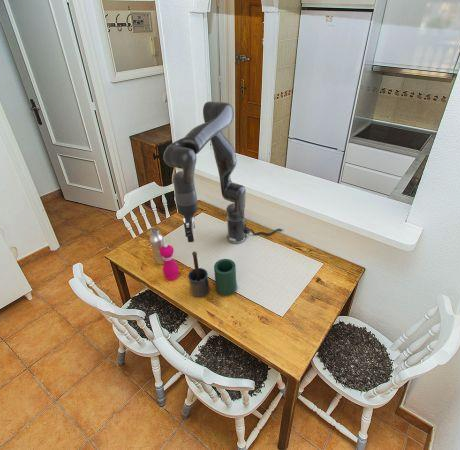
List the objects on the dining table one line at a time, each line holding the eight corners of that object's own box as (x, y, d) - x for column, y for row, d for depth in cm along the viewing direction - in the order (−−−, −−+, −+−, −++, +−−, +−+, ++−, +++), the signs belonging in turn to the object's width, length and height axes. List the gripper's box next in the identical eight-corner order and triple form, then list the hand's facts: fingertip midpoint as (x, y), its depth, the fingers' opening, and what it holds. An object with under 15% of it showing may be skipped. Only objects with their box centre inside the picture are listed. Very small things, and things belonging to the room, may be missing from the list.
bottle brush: (201, 284, 145) (195, 247, 132) (205, 289, 143) (201, 252, 129) (193, 288, 143) (187, 251, 130) (198, 293, 141) (192, 256, 127)
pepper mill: (182, 272, 153) (176, 240, 141) (175, 283, 147) (168, 250, 135) (169, 269, 155) (162, 237, 143) (161, 279, 149) (153, 247, 137)
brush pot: (202, 280, 148) (200, 265, 142) (213, 291, 143) (211, 275, 137) (187, 289, 144) (184, 274, 138) (197, 300, 139) (194, 285, 133)
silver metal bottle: (165, 267, 156) (158, 235, 144) (152, 265, 157) (144, 233, 145) (170, 258, 161) (164, 226, 149) (158, 256, 162) (150, 225, 150)
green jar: (228, 277, 150) (226, 255, 141) (240, 289, 144) (239, 266, 136) (212, 287, 145) (209, 265, 137) (224, 299, 139) (222, 277, 131)
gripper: (196, 210, 109) (200, 245, 119) (197, 189, 120) (201, 223, 130) (174, 211, 108) (180, 247, 118) (177, 190, 120) (183, 224, 129)
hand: (191, 234), depth 124 cm, fingers open, 8 cm apart
